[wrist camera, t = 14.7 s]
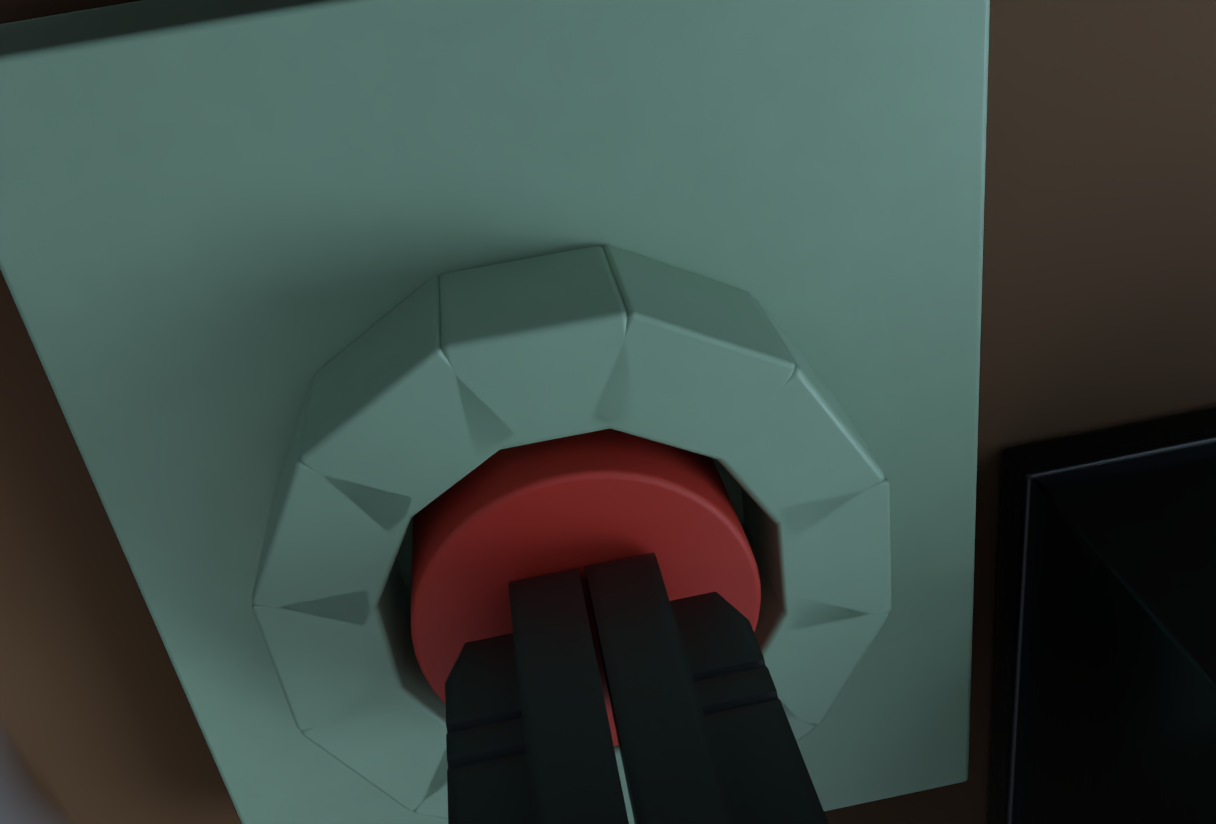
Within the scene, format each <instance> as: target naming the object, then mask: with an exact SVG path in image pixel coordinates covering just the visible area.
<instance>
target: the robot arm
mask: <svg viewBox="0 0 1216 824" xmlns="http://www.w3.org/2000/svg"><path fill="white" fill-rule="evenodd" d="M585 571H586V577H587V582H588V587H589V593H590V598H591V603H592V608H593V614H594V619H595V624H596V630H597V635H598V640H599V646H600V651H601V656H602V662H603V667H604V672H605V677H606V683H607V688H608V693H609V698H610V703H611V709H612V714H613V719H614V724H615V729H616V734H617V739H618V744H619V749H620V754H621V759H622V764H623V768H624V773H625V778H626V783H627V788H628V793H629V798H630V803H631V808H632V813H633V818H634V823H635V824H829V823H828V821H827V818H826V816H825V813H824V811H823V808H822V806H821V803H820V800H819V798H818V795H817V793H816V790H815V788H814V785H813V783H812V780H811V777H810V775H809V772H808V770H807V767H806V765H805V762H804V759H803V757H802V754H801V752H800V749H799V747H798V744H797V741H796V739H795V736H794V734H793V731H792V729H791V726H790V724H789V721H788V718H787V716H786V713H785V711H784V708H783V706H782V703H781V700H780V699H778V695H777V690H776V688H775V685H774V682H773V680H772V677H771V675H770V672H769V670H768V667H766V665H765V660H764V657H763V654H762V652H761V649H760V647H759V644H758V641H757V639H756V636H755V634H754V631H753V629H752V626H751V623H750V621H749V620H748V619H747V618H746V617H745V616H744V615H742V614H741V613H740V612H739V611H738V610H737V609H736V608H734V607H733V606H732V605H731V604H730V603H729V602H728V601H726V600H725V599H724V598H723V597H722V596H721V595H719V594H718V593H717V592H711V593H706V594H701V595H696V596H691V597H686V598H681V599H676V600H671V601H669V598H668V594H667V591H666V588H665V584H664V581H663V578H662V574H661V571H660V568H659V564H658V561H657V558H656V555H655V553H654V552H652V553H647V554H642V555H637V556H632V557H628V558H623V559H618V560H613V561H608V562H603V563H598V564H593V565H588V566H585ZM508 585H509V597H510V606H511V616H512V625H513V633H511V634H506V635H501V636H496V637H491V638H486V639H481V640H476V641H471V642H466V643H465V644H464V646H463V648H462V650H461V652H460V654H459V656H458V658H457V660H456V662H455V664H454V666H453V668H452V670H451V672H450V674H449V676H448V678H447V680H446V682H445V703H446V727H447V734H446V746H447V763H448V769H447V788H448V824H629V821H628V816H627V811H626V806H625V801H624V796H623V791H622V786H621V781H620V776H619V771H618V766H617V761H616V756H615V751H614V745H613V740H612V735H611V730H610V725H609V720H608V715H607V710H606V705H605V700H604V695H603V690H602V685H601V680H600V675H599V670H598V664H597V659H596V654H595V649H594V644H593V639H592V634H591V629H590V624H589V619H588V614H587V609H586V604H585V599H584V594H583V588H582V583H581V578H580V573H579V568H574V569H569V570H564V571H559V572H554V573H549V574H544V575H539V576H534V577H529V578H525V579H520V580H515V581H510V582H509V583H508Z"/></svg>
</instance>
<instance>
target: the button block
mask: <svg viewBox="0 0 1216 824" xmlns="http://www.w3.org/2000/svg"><path fill="white" fill-rule="evenodd" d="M989 17H990V0H141V1H135V2H129V3H123V4H117V5H111V6H105V7H99V8H93V9H87V10H81V11H75V12H69V13H63V14H57V15H52V16H46V17H40V18H34V19H28V20H22V21H16V22H10V23H4V24H0V269H1V272H2V274H3V276H4V278H5V281H6V283H7V285H8V288H9V290H10V292H11V295H12V297H13V299H14V301H15V304H16V306H17V308H18V311H19V313H20V315H21V317H22V320H23V322H24V324H25V327H26V329H27V331H28V334H29V336H30V338H31V340H32V343H33V345H34V347H35V350H36V352H37V354H38V357H39V359H40V361H41V363H42V366H43V368H44V370H45V373H46V375H47V377H48V379H49V382H50V384H51V386H52V389H53V391H54V393H55V396H56V398H57V400H58V402H59V405H60V407H61V409H62V412H63V414H64V416H65V418H66V421H67V423H68V425H69V428H70V430H71V432H72V435H73V437H74V439H75V441H76V444H77V446H78V448H79V451H80V453H81V455H82V458H83V460H84V462H85V464H86V467H87V469H88V471H89V474H90V476H91V478H92V480H93V483H94V485H95V487H96V490H97V492H98V494H99V497H100V499H101V501H102V503H103V506H104V508H105V510H106V513H107V515H108V517H109V520H110V522H111V524H112V526H113V529H114V531H115V533H116V536H117V538H118V540H119V542H120V545H121V547H122V549H123V552H124V554H125V556H126V559H127V561H128V563H129V565H130V568H131V570H132V572H133V575H134V577H135V579H136V581H137V584H138V586H139V588H140V591H141V593H142V595H143V598H144V600H145V602H146V604H147V607H148V609H149V611H150V614H151V616H152V618H153V621H154V623H155V625H156V627H157V630H158V632H159V634H160V637H161V639H162V641H163V643H164V646H165V648H166V650H167V653H168V655H169V657H170V660H171V662H172V664H173V666H174V669H175V671H176V673H177V676H178V678H179V680H180V682H181V685H182V687H183V689H184V692H185V694H186V696H187V699H188V701H189V703H190V705H191V708H192V710H193V712H194V715H195V717H196V719H197V722H198V724H199V726H200V728H201V731H202V733H203V735H204V738H205V740H206V742H207V744H208V747H209V749H210V751H211V754H212V756H213V758H214V761H215V763H216V765H217V767H218V770H219V772H220V774H221V777H222V779H223V781H224V783H225V786H226V788H227V790H228V793H229V795H230V797H231V800H232V802H233V804H234V806H235V809H236V811H237V813H238V816H239V818H240V820H241V823H242V824H448V788H447V769H448V763H447V746H446V734H447V727H446V704H445V703H444V702H443V701H442V700H441V699H440V697H439V696H438V695H437V694H436V692H435V691H434V690H433V689H432V687H431V686H430V684H429V682H428V681H427V679H426V677H425V676H424V674H423V672H422V670H421V668H420V665H419V663H418V660H417V658H416V655H415V651H414V646H413V641H412V636H411V576H412V525H413V518H414V515H415V514H416V513H418V512H419V511H420V510H422V509H423V508H424V507H426V506H427V505H428V504H429V503H431V502H432V501H433V500H435V499H436V498H437V497H439V496H440V495H441V494H443V493H444V492H445V491H446V490H448V489H449V488H450V487H452V486H453V485H454V484H456V483H457V482H458V481H459V480H461V479H462V478H463V477H465V476H466V475H467V474H469V473H470V472H471V471H473V470H474V469H475V468H476V467H478V466H479V465H480V464H482V463H483V462H484V461H486V460H487V459H488V458H489V457H491V456H492V455H493V454H495V453H496V452H497V451H499V450H500V449H506V448H511V447H516V446H521V445H527V444H532V443H537V442H542V441H547V440H553V439H558V438H563V437H568V436H573V435H579V434H584V433H589V432H594V431H600V430H605V429H614V430H617V431H621V432H624V433H628V434H631V435H635V436H638V437H642V438H645V439H649V440H652V441H656V442H659V443H663V444H666V445H670V446H673V447H677V448H680V449H684V450H687V451H691V452H694V453H698V454H701V455H705V456H708V457H711V458H712V460H713V461H714V463H715V465H716V467H717V469H718V471H719V474H720V476H721V479H722V481H723V483H724V486H725V488H726V490H727V493H728V495H729V497H730V500H731V502H732V505H733V507H734V509H735V512H736V514H737V516H738V519H739V521H740V523H741V526H742V528H743V531H744V533H745V535H746V538H747V540H748V542H749V545H750V547H751V549H752V552H753V555H754V558H755V561H756V564H757V566H758V572H759V578H760V583H761V605H760V611H759V618H758V623H757V626H756V630H755V633H754V634H755V636H756V639H757V641H758V644H759V647H760V649H761V652H762V654H763V657H764V660H765V665H766V667H768V670H769V672H770V675H771V677H772V680H773V682H774V685H775V688H776V690H777V695H778V699H780V700H781V703H782V706H783V708H784V711H785V713H786V716H787V718H788V721H789V724H790V726H791V729H792V731H793V734H794V736H795V739H796V741H797V744H798V747H799V749H800V752H801V754H802V757H803V759H804V762H805V765H806V767H807V770H808V772H809V775H810V777H811V780H812V783H813V785H814V788H815V790H816V793H817V795H818V798H819V800H820V803H821V806H822V808H823V811H824V812H825V811H829V810H834V809H839V808H843V807H848V806H853V805H858V804H862V803H867V802H872V801H876V800H881V799H886V798H891V797H895V796H900V795H905V794H909V793H914V792H919V791H924V790H928V789H933V788H938V787H942V786H947V785H952V784H957V783H961V782H965V781H966V780H967V779H968V766H969V730H970V695H971V659H972V623H973V588H974V552H975V516H976V481H977V445H978V409H979V374H980V338H981V302H982V267H983V231H984V195H985V160H986V124H987V88H988V53H989ZM614 751H615V756H616V761H617V766H618V771H619V776H620V781H621V786H622V791H623V796H624V801H625V806H626V811H627V816H628V821H629V824H635V823H634V818H633V813H632V808H631V803H630V798H629V793H628V788H627V783H626V778H625V773H624V768H623V764H622V759H621V754H620V749H619V745H617V746H614Z"/></svg>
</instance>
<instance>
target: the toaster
mask: <svg viewBox="0 0 1216 824" xmlns="http://www.w3.org/2000/svg"><path fill="white" fill-rule="evenodd" d="M988 824H1216V407H1212V408H1207V409H1202V410H1197V411H1192V412H1187V413H1182V414H1177V415H1171V416H1166V417H1161V418H1156V419H1151V420H1146V421H1141V422H1136V423H1131V424H1126V425H1121V426H1115V427H1110V428H1105V429H1100V430H1095V431H1090V432H1085V433H1080V434H1075V435H1070V436H1064V437H1059V438H1054V439H1049V440H1044V441H1039V442H1034V443H1029V444H1024V445H1019V446H1014V447H1008V448H1006V449H1004V451H1003V461H1002V485H1001V509H1000V533H999V558H998V582H997V606H996V630H995V655H994V679H993V703H992V727H991V752H990V776H989V800H988Z"/></svg>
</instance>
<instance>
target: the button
mask: <svg viewBox="0 0 1216 824" xmlns="http://www.w3.org/2000/svg"><path fill="white" fill-rule="evenodd" d="M652 552H654V553H655V555H656V558H657V561H658V564H659V568H660V571H661V574H662V578H663V581H664V584H665V588H666V591H667V594H668V598H669V601H671V600H676V599H681V598H686V597H691V596H696V595H701V594H706V593H711V592H717V593H718V594H719V595H721V596H722V597H723V598H724V599H725V600H726V601H728V602H729V603H730V604H731V605H732V606H733V607H734V608H736V609H737V610H738V611H739V612H740V613H741V614H742V615H744V616H745V617H746V618H747V619H748V620H749V621H750V623H751V626H752V629H753V631H754V633H755V630H756V626H757V623H758V618H759V611H760V605H761V583H760V578H759V572H758V566H757V564H756V561H755V558H754V555H753V552H752V549H751V547H750V545H749V542H748V540H747V538H746V535H745V533H744V531H743V528H742V526H741V523H740V521H739V519H738V516H737V514H736V512H735V509H734V507H733V505H732V502H731V500H730V497H729V495H728V493H727V490H726V488H725V486H724V483H723V481H722V479H721V476H720V474H719V471H718V469H717V467H716V465H715V463H714V461H713V460H712V458H711V457H708V456H705V455H701V454H698V453H694V452H691V451H687V450H684V449H680V448H677V447H673V446H670V445H666V444H663V443H659V442H656V441H652V440H649V439H645V438H642V437H638V436H635V435H631V434H628V433H624V432H621V431H617V430H614V429H605V430H600V431H594V432H589V433H584V434H579V435H573V436H568V437H563V438H558V439H553V440H547V441H542V442H537V443H532V444H527V445H521V446H516V447H511V448H506V449H500V450H499V451H497V452H496V453H495V454H493V455H492V456H491V457H489V458H488V459H487V460H486V461H484V462H483V463H482V464H480V465H479V466H478V467H476V468H475V469H474V470H473V471H471V472H470V473H469V474H467V475H466V476H465V477H463V478H462V479H461V480H459V481H458V482H457V483H456V484H454V485H453V486H452V487H450V488H449V489H448V490H446V491H445V492H444V493H443V494H441V495H440V496H439V497H437V498H436V499H435V500H433V501H432V502H431V503H429V504H428V505H427V506H426V507H424V508H423V509H422V510H420V511H419V512H418V513H416V514H415V515H414V518H413V525H412V576H411V636H412V641H413V646H414V651H415V655H416V658H417V660H418V663H419V665H420V668H421V670H422V672H423V674H424V676H425V677H426V679H427V681H428V682H429V684H430V686H431V687H432V689H433V690H434V691H435V692H436V694H437V695H438V696H439V697H440V699H441V700H442V701H443V702H444V703H445V682H446V680H447V678H448V676H449V674H450V672H451V670H452V668H453V666H454V664H455V662H456V660H457V658H458V656H459V654H460V652H461V650H462V648H463V646H464V644H465V643H466V642H471V641H476V640H481V639H486V638H491V637H496V636H501V635H506V634H511V633H513V625H512V616H511V606H510V597H509V585H508V583H509V582H510V581H515V580H520V579H525V578H529V577H534V576H539V575H544V574H549V573H554V572H559V571H564V570H569V569H574V568H579V573H580V578H581V583H582V588H583V594H584V599H585V604H586V609H587V614H588V619H589V624H590V629H591V634H592V639H593V644H594V649H595V654H596V659H597V664H598V670H599V675H600V680H601V685H602V690H603V695H604V700H605V705H606V710H607V715H608V720H609V725H610V730H611V735H612V740H613V745H614V746H617V745H619V744H618V739H617V734H616V729H615V724H614V719H613V714H612V709H611V703H610V698H609V693H608V688H607V683H606V677H605V672H604V667H603V662H602V656H601V651H600V646H599V640H598V635H597V630H596V624H595V619H594V614H593V608H592V603H591V598H590V593H589V587H588V582H587V577H586V571H585V566H588V565H593V564H598V563H603V562H608V561H613V560H618V559H623V558H628V557H632V556H637V555H642V554H647V553H652ZM445 704H446V703H445Z"/></svg>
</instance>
